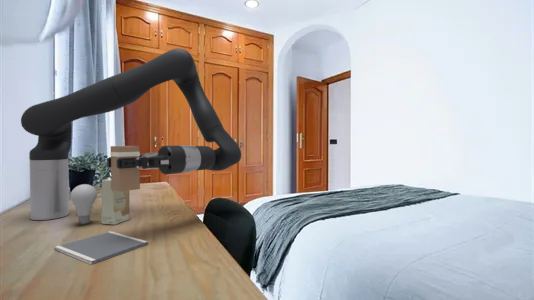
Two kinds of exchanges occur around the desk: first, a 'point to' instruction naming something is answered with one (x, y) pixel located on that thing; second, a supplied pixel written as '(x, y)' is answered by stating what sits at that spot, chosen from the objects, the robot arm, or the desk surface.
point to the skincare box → (114, 204)
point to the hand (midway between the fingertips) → (112, 163)
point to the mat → (100, 247)
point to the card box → (124, 169)
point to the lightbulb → (83, 201)
